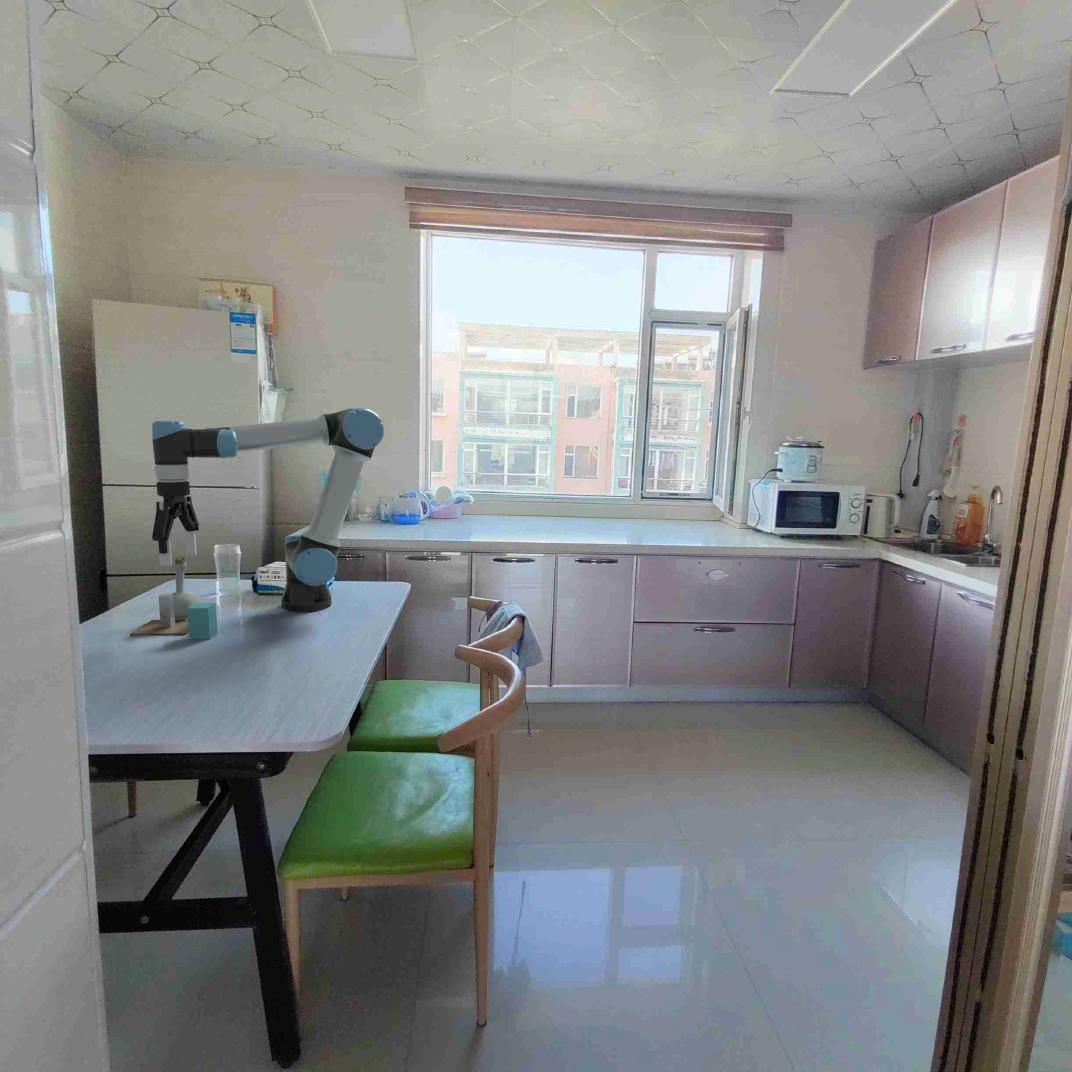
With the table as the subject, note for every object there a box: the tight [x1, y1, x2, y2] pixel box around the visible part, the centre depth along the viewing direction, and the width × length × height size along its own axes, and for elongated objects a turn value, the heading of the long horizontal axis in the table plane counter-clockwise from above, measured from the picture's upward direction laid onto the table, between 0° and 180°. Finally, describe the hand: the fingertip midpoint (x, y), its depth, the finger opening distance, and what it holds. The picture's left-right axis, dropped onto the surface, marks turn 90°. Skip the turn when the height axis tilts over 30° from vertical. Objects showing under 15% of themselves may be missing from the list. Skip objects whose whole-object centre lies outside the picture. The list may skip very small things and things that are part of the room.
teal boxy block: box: [187, 602, 218, 641], centre depth 164 cm, size 5×5×9 cm
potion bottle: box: [171, 555, 198, 620], centre depth 178 cm, size 9×9×18 cm
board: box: [129, 619, 189, 637], centre depth 170 cm, size 14×12×1 cm
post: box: [158, 593, 175, 628], centre depth 170 cm, size 3×3×9 cm
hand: (179, 559), depth 164 cm, fingers open, 13 cm apart
